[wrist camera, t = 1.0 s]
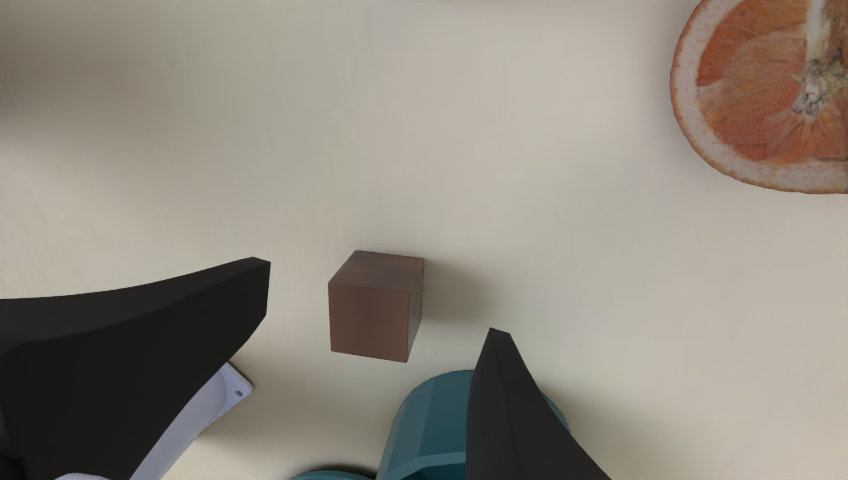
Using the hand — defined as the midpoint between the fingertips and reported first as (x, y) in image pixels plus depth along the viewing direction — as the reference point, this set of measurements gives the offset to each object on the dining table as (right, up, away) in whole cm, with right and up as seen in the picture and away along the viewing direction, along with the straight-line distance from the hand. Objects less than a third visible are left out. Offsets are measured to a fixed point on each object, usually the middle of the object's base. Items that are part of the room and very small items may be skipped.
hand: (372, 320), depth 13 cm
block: (0, 0, +11) cm, 11 cm away
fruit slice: (+15, +9, +4) cm, 18 cm away
